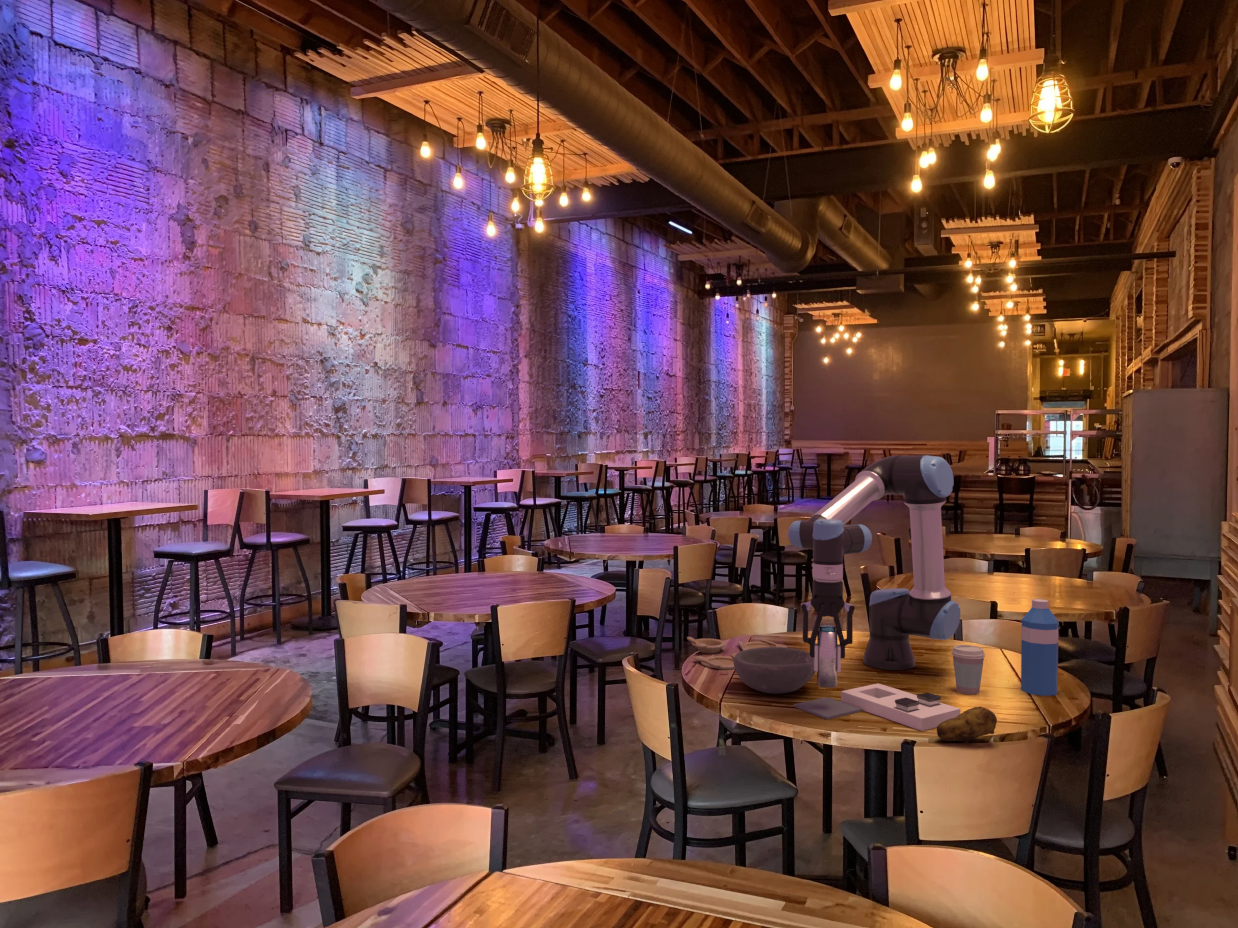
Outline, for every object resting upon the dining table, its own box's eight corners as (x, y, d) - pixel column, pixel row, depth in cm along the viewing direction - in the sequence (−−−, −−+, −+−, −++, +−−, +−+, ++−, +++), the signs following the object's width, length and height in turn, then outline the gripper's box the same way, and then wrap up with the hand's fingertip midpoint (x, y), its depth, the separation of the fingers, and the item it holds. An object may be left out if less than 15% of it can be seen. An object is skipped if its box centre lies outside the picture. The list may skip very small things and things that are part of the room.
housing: (841, 702, 227) (841, 691, 226) (878, 694, 234) (878, 683, 234) (921, 730, 204) (922, 718, 204) (960, 720, 212) (960, 708, 211)
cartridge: (817, 686, 219) (817, 628, 219) (816, 681, 224) (817, 624, 223) (837, 687, 218) (837, 629, 218) (836, 682, 223) (837, 625, 222)
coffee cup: (983, 688, 239) (983, 645, 239) (985, 697, 231) (986, 652, 231) (950, 685, 242) (950, 643, 241) (951, 694, 234) (952, 650, 233)
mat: (793, 706, 223) (793, 704, 223) (827, 699, 229) (827, 696, 229) (827, 719, 213) (827, 716, 213) (861, 711, 219) (861, 708, 219)
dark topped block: (916, 708, 217) (916, 694, 217) (927, 705, 219) (927, 692, 219) (929, 712, 213) (930, 698, 213) (940, 709, 215) (940, 696, 215)
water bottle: (1062, 696, 231) (1063, 604, 230) (1025, 694, 233) (1026, 602, 232) (1052, 686, 240) (1053, 597, 239) (1016, 685, 242) (1017, 596, 241)
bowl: (765, 673, 254) (766, 640, 254) (832, 689, 238) (833, 653, 238) (716, 689, 238) (716, 654, 238) (784, 707, 222) (784, 669, 222)
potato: (936, 732, 203) (936, 698, 203) (995, 738, 199) (995, 704, 199) (936, 744, 196) (936, 709, 195) (998, 751, 191) (998, 715, 191)
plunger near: (894, 713, 212) (894, 699, 212) (905, 710, 215) (906, 697, 214) (907, 717, 209) (908, 704, 209) (919, 715, 211) (919, 701, 211)
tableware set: (704, 672, 257) (704, 659, 257) (675, 649, 286) (675, 637, 286) (812, 665, 265) (812, 652, 265) (773, 643, 294) (773, 631, 294)
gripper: (792, 581, 218) (792, 672, 218) (865, 583, 215) (865, 675, 216) (791, 576, 225) (790, 664, 226) (862, 578, 223) (861, 667, 223)
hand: (827, 669), depth 221 cm, fingers closed on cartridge, 5 cm apart
